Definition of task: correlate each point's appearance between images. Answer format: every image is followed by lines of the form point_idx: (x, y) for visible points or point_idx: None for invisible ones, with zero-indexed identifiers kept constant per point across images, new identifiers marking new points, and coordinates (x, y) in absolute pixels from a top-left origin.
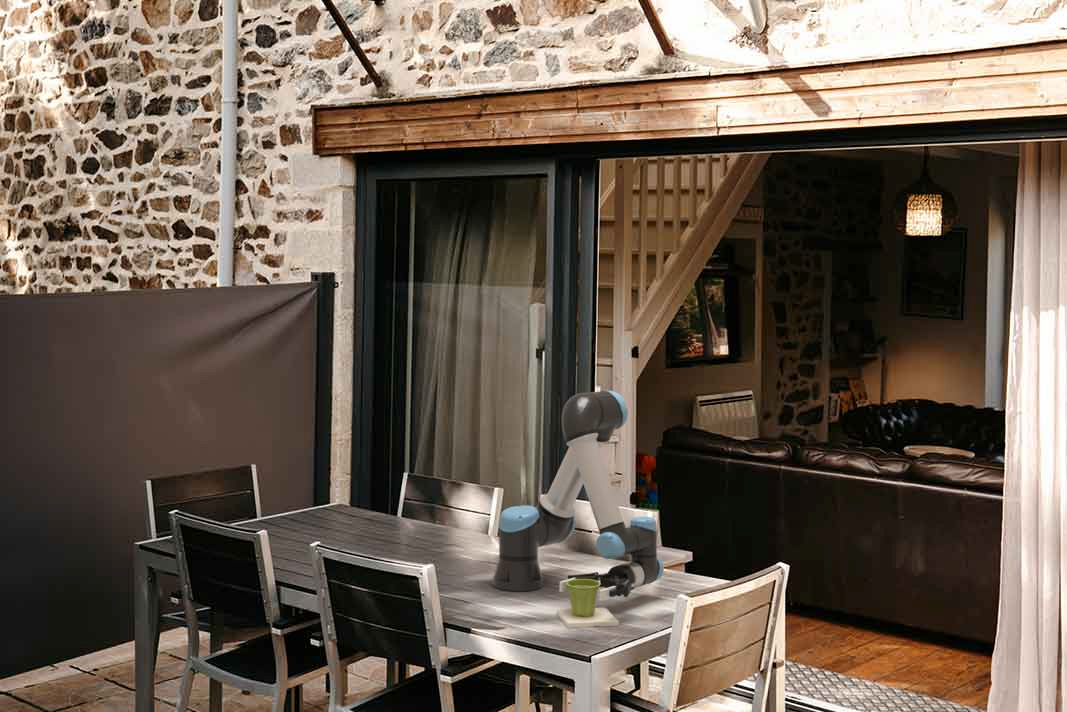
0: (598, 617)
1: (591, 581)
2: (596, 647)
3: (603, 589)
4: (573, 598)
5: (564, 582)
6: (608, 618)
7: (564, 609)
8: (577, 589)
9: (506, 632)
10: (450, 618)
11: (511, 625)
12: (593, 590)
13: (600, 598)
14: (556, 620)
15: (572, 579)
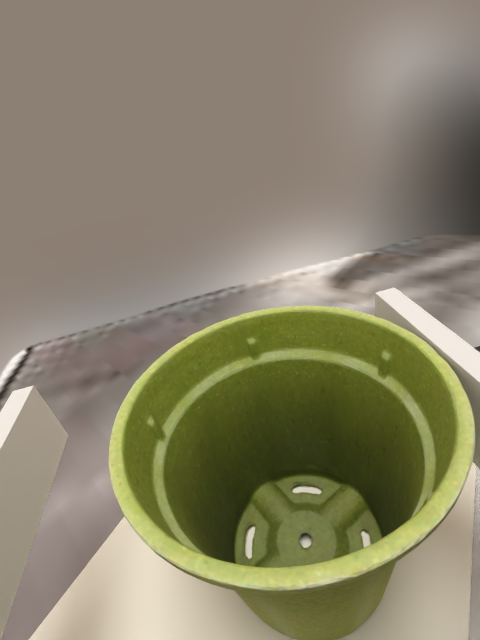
0: (182, 582)
1: (354, 557)
2: (35, 384)
3: (14, 417)
4: (281, 393)
5: (393, 314)
6: (115, 634)
7: (459, 503)
8: (225, 342)
9: (296, 285)
10: (476, 236)
11: (350, 302)
12: (147, 432)
13: (55, 428)
14: None
15: (470, 378)
